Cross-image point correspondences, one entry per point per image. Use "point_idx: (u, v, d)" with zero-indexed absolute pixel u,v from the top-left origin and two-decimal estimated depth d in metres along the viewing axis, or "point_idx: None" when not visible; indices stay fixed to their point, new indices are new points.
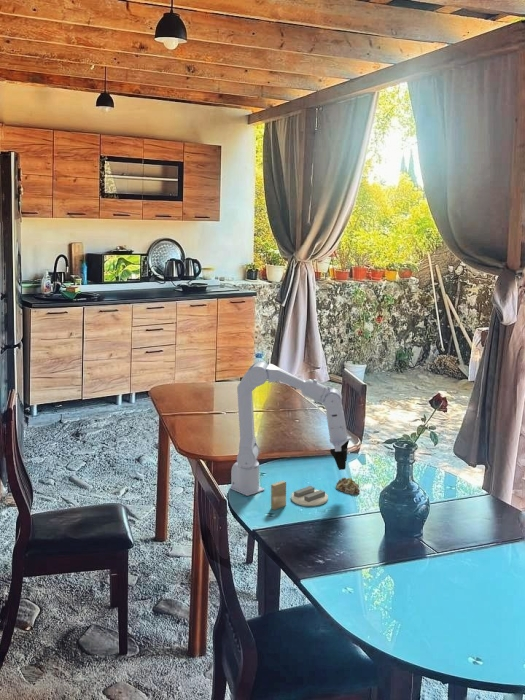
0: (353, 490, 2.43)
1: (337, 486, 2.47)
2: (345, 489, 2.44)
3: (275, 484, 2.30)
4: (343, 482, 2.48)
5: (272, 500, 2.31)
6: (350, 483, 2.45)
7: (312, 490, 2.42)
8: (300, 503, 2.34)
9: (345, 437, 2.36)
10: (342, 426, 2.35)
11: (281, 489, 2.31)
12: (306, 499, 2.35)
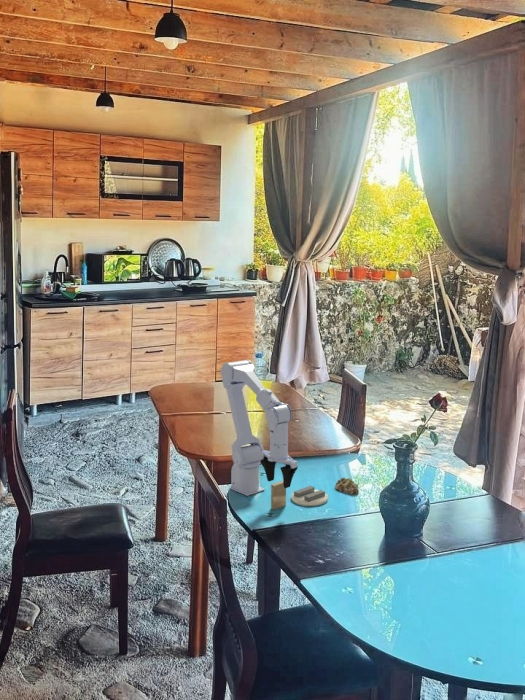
0: (352, 490, 2.43)
1: (336, 486, 2.47)
2: (344, 489, 2.44)
3: (275, 484, 2.30)
4: (342, 482, 2.48)
5: (272, 500, 2.31)
6: (349, 483, 2.45)
7: (312, 490, 2.42)
8: (300, 503, 2.34)
9: (270, 454, 2.29)
10: None
11: (281, 489, 2.31)
12: (306, 499, 2.35)
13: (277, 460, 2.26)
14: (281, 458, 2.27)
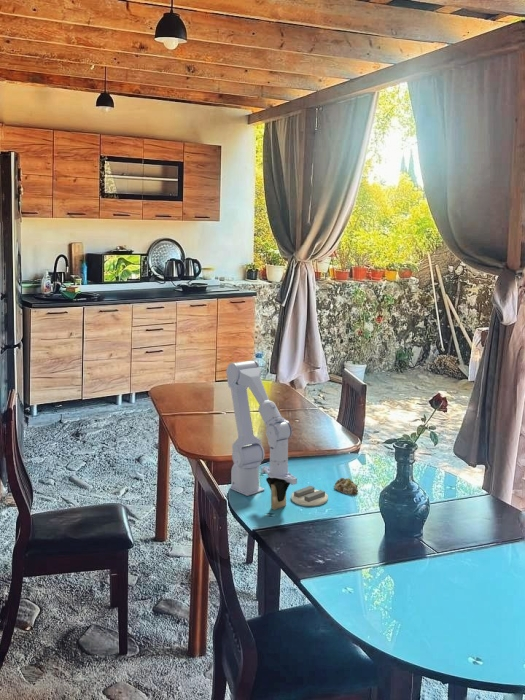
0: (351, 490, 2.42)
1: (335, 486, 2.47)
2: (343, 489, 2.44)
3: None
4: (341, 482, 2.48)
5: (272, 500, 2.31)
6: (348, 483, 2.45)
7: (312, 490, 2.42)
8: (300, 503, 2.34)
9: (269, 471, 2.30)
10: None
11: None
12: (306, 499, 2.35)
13: (277, 476, 2.27)
14: (281, 474, 2.28)
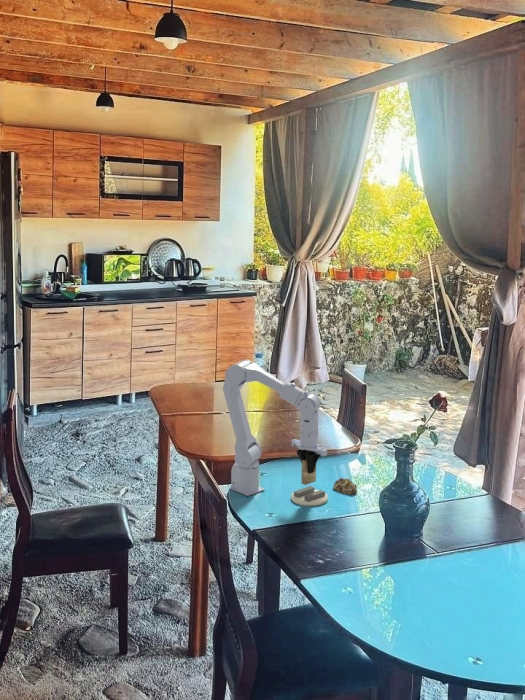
0: (350, 490, 2.42)
1: (334, 486, 2.47)
2: (342, 489, 2.44)
3: (305, 460, 2.35)
4: (340, 482, 2.48)
5: (302, 475, 2.36)
6: (347, 483, 2.45)
7: (312, 490, 2.42)
8: (300, 503, 2.34)
9: (300, 443, 2.35)
10: (300, 431, 2.35)
11: None
12: (306, 499, 2.35)
13: (307, 448, 2.32)
14: (311, 446, 2.32)
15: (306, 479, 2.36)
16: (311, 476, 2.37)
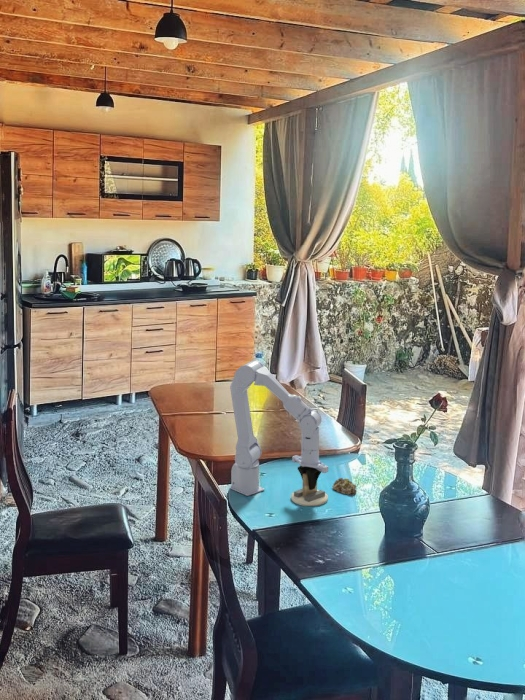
0: (349, 490, 2.42)
1: (334, 486, 2.47)
2: (342, 489, 2.44)
3: (306, 473, 2.36)
4: (340, 482, 2.48)
5: (304, 489, 2.37)
6: (347, 483, 2.45)
7: None
8: (300, 503, 2.34)
9: (301, 459, 2.36)
10: (301, 447, 2.36)
11: None
12: (306, 499, 2.35)
13: (309, 465, 2.34)
14: (312, 463, 2.34)
15: (307, 493, 2.37)
16: (312, 490, 2.38)
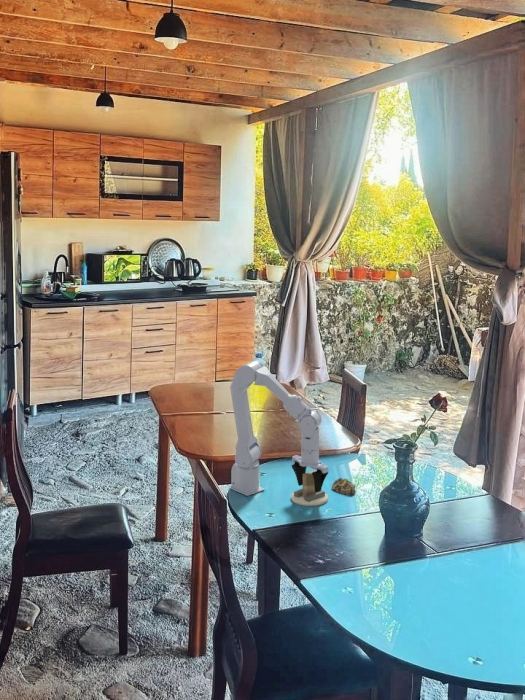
0: (349, 491, 2.42)
1: (333, 486, 2.47)
2: (341, 490, 2.44)
3: (306, 473, 2.36)
4: (339, 482, 2.48)
5: (304, 489, 2.37)
6: (346, 484, 2.45)
7: None
8: (300, 503, 2.34)
9: (301, 460, 2.36)
10: (301, 447, 2.36)
11: (313, 479, 2.38)
12: (306, 499, 2.35)
13: (309, 465, 2.34)
14: (312, 463, 2.34)
15: (307, 493, 2.37)
16: (312, 490, 2.38)
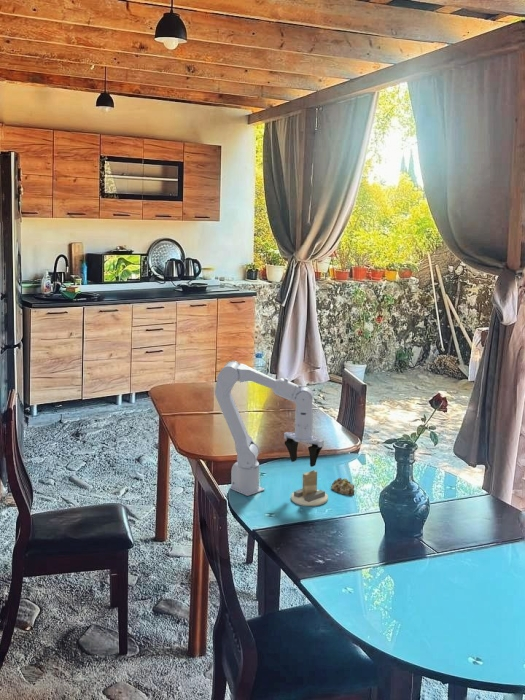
0: (348, 491, 2.42)
1: (332, 486, 2.47)
2: (340, 490, 2.44)
3: (306, 473, 2.36)
4: (338, 483, 2.48)
5: (304, 489, 2.37)
6: (345, 484, 2.45)
7: None
8: (300, 503, 2.34)
9: (295, 435, 2.39)
10: (295, 423, 2.39)
11: (313, 479, 2.38)
12: (306, 499, 2.35)
13: (304, 440, 2.37)
14: (307, 438, 2.38)
15: (307, 493, 2.37)
16: (312, 490, 2.38)
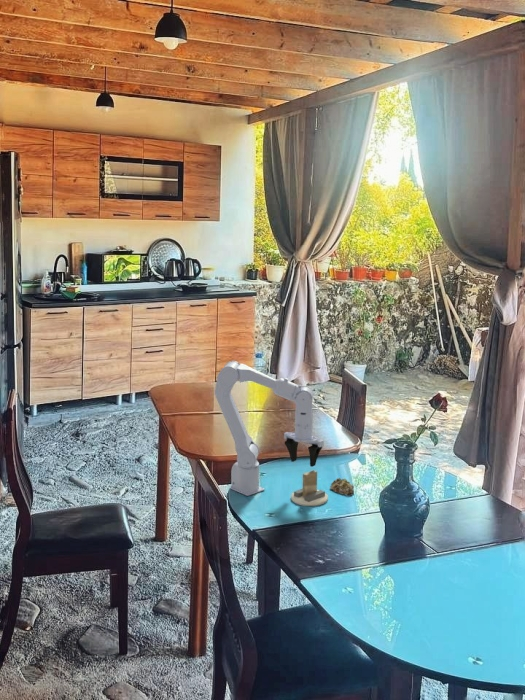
0: (347, 491, 2.42)
1: (331, 487, 2.47)
2: (339, 490, 2.44)
3: (306, 473, 2.36)
4: (338, 483, 2.48)
5: (304, 489, 2.37)
6: (344, 484, 2.45)
7: None
8: (300, 503, 2.34)
9: (295, 435, 2.39)
10: (295, 423, 2.39)
11: (313, 479, 2.38)
12: (306, 499, 2.35)
13: (304, 440, 2.37)
14: (307, 438, 2.38)
15: (307, 493, 2.37)
16: (312, 490, 2.38)
